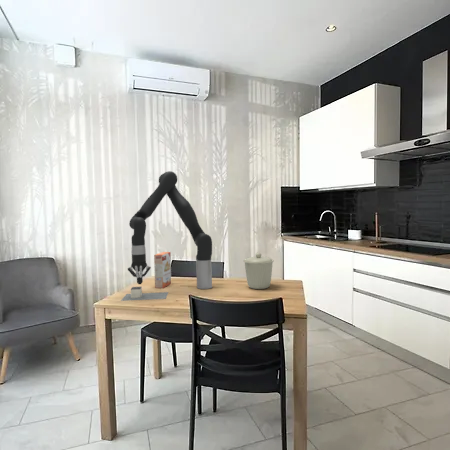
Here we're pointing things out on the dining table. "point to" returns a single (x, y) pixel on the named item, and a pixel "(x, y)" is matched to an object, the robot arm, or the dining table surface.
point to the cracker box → (162, 269)
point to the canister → (258, 271)
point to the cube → (136, 292)
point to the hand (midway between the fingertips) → (139, 284)
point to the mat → (147, 296)
